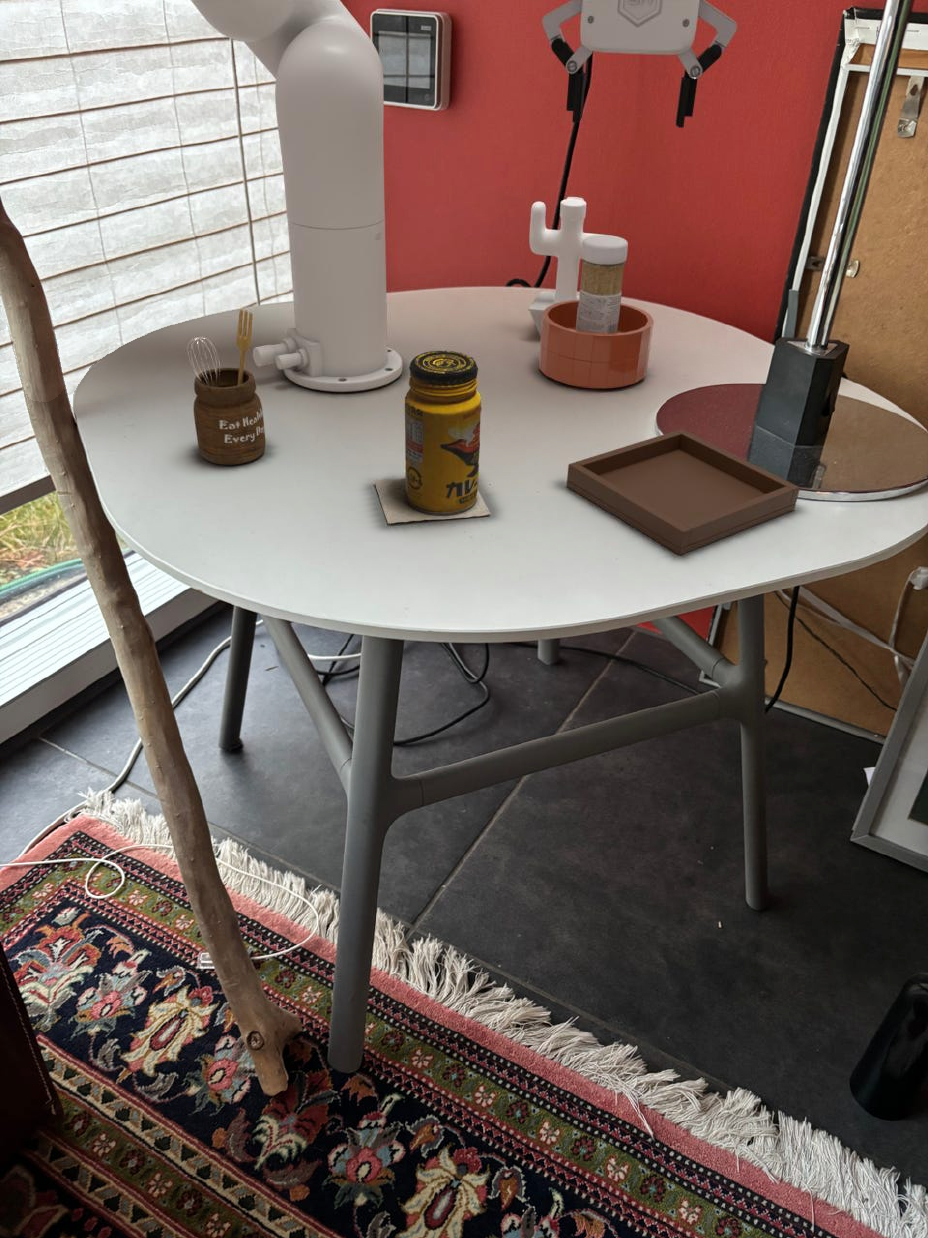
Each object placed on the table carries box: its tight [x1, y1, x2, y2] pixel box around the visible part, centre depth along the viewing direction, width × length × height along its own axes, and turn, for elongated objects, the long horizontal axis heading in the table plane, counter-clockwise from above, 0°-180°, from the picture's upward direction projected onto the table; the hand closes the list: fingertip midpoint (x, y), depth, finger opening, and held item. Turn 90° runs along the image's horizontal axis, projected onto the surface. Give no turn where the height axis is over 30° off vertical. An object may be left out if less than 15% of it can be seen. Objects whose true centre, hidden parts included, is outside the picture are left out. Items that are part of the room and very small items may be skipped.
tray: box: [566, 428, 801, 556], centre depth 82 cm, size 14×14×2 cm
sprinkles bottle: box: [576, 234, 629, 334], centre depth 102 cm, size 5×5×13 cm
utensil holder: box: [186, 308, 266, 466], centre depth 85 cm, size 6×6×12 cm
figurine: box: [528, 196, 602, 337], centre depth 112 cm, size 7×9×15 cm
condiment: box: [373, 350, 492, 524], centre depth 78 cm, size 7×8×12 cm
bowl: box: [538, 300, 655, 390], centre depth 105 cm, size 12×12×6 cm
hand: (628, 122), depth 92 cm, fingers open, 9 cm apart
